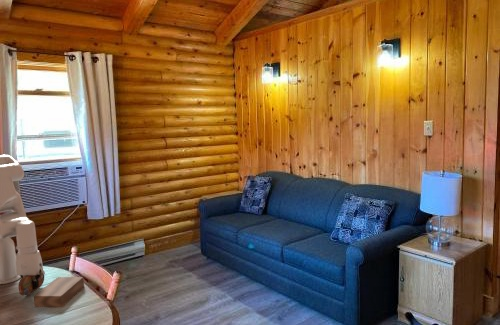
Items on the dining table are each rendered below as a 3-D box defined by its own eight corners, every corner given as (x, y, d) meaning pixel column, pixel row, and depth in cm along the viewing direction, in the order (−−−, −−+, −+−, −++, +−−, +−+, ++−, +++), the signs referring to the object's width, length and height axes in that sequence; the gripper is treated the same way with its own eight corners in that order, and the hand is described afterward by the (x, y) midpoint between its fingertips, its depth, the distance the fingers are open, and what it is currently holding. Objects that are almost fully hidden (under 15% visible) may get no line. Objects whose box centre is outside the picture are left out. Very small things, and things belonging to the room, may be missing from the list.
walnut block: (34, 307, 166) (33, 296, 165) (59, 287, 184) (58, 277, 183) (62, 307, 165) (60, 296, 164) (84, 287, 182) (83, 277, 182)
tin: (24, 299, 173) (23, 280, 171) (17, 298, 173) (16, 280, 172) (45, 283, 187) (44, 266, 186) (39, 282, 188) (37, 265, 186)
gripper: (4, 252, 174) (9, 291, 177) (40, 252, 172) (44, 292, 175) (16, 245, 181) (20, 283, 184) (50, 246, 180) (54, 284, 183)
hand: (32, 287), depth 180 cm, fingers closed on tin, 2 cm apart
